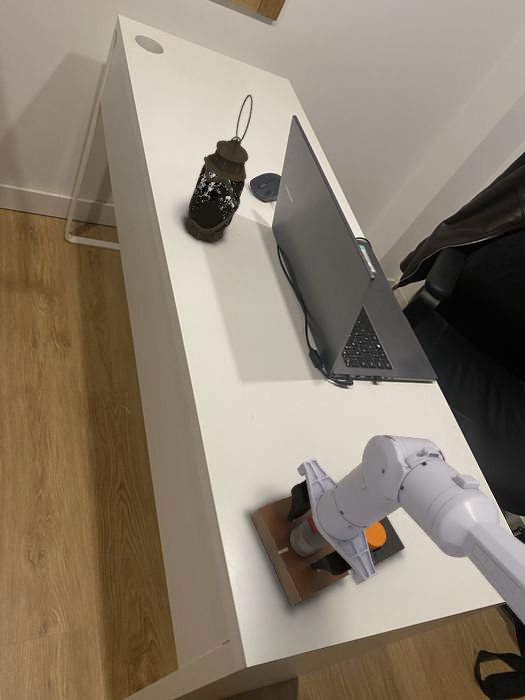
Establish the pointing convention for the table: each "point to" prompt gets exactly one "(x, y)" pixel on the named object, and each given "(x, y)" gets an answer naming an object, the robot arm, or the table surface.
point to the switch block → (387, 543)
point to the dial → (307, 538)
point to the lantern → (226, 166)
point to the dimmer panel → (291, 552)
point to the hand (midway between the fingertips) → (305, 539)
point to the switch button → (375, 536)
